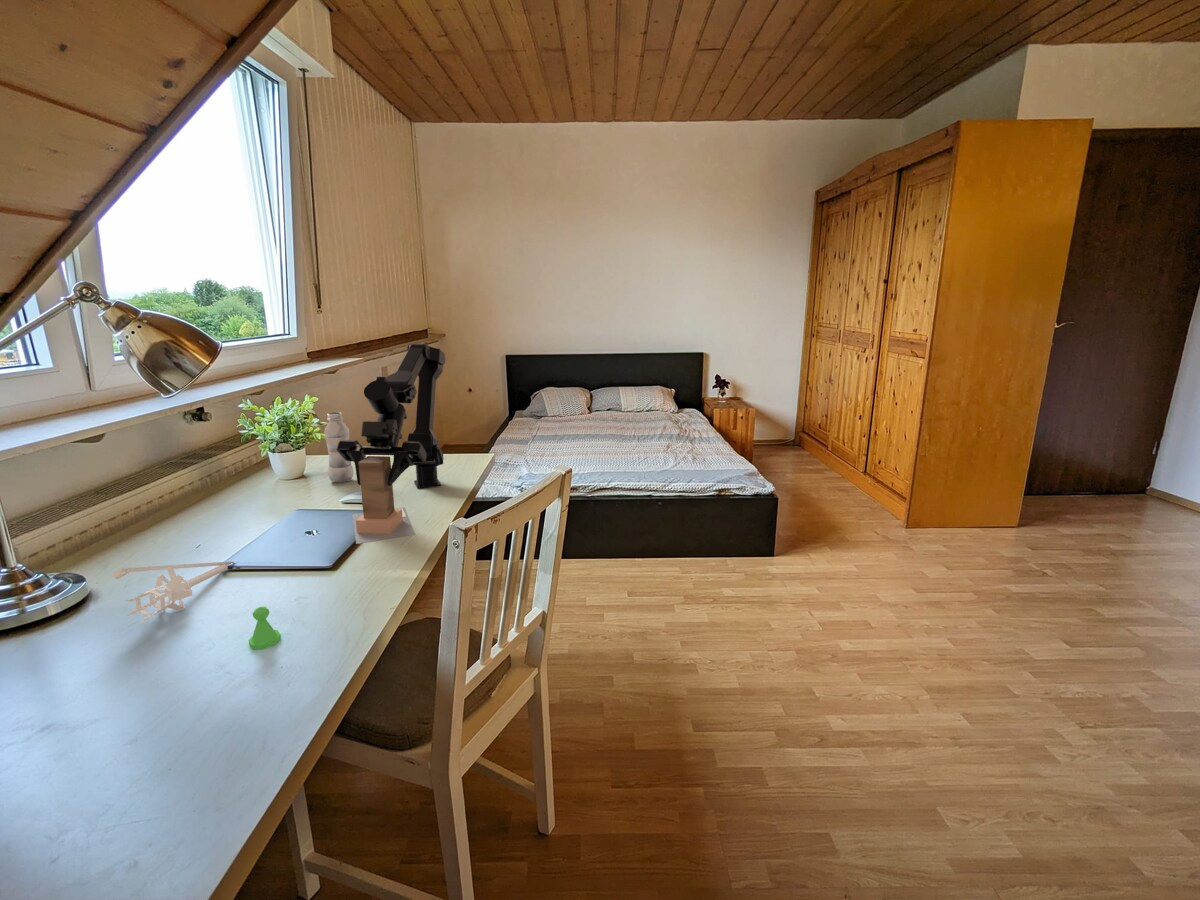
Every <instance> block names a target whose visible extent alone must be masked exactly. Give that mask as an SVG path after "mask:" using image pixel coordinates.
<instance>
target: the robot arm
mask: <svg viewBox="0 0 1200 900" xmlns="http://www.w3.org/2000/svg"><path fill="white" fill-rule="evenodd" d="M406 350H407V351H406V354H405V355H404V357H403V359H402V360H401V363H400V364H399V366H398V368H397V370H396V372H394V373H391V374H389V375H387V376H376V379H375V380H372V381H371V382H369V383H368V384H367V385H366V386H365V387H364V388H363V389H364V390H363V395H364V397H365V399H366V400H367V401H368V404H369V405H370V406H371V407H372V409H373V411H374V412H375V413H377V414H378V416H377V418H376V421H370V420H369V421H362V424H361V432H360V433H361V434H360V436H361V437H365V438H366V440H365V441H366V442H367V444H370V446H369V445H361V444H360V442H359V441H358V440H356V439H349V440H341V441H340V442H339V443H338V445H337V448H336V450H337V451H338V452H339V453H340V455H341V456H342V457H343V458H344V459H345V460H346V461H351V463H352V462H353V463H354V467H355V475H356V483H357V485H358V486H361V485H360V475H359V465H358V462H360V461H361V460H363V459H364V458H366V457H367V456H393V461H392V464H391V471H390V474H389V478H388V486H391V485H393V484H394V483H395V482H396V481H397V480H398V478H399V477H400V476H401V475H402V474H403V473H404V472H405V471H406V470H407V469H408V468H409V467H413V466H415V474H416V475H415V476H416V479H415V480H414V481H413V483H414V485H415V487H416V489H425V488H426V489H427V488H431V487H432V488H433V487H440V486H442V484H441V482H440V480H439V478H438V467H439V466H441V465H444V453H443V451H442V449H441V448H440V446H439V439H438V437H437V435H436V434H435V432H434V418H435V403H436V386H437V380H438V379H439V378H440V376H441V375H442V373H443V371H444V366H445V364H446V354H445V352H444V351H442V350H441V348H439V347H432V346H430V345H429V344H425V343H411V344H408V346H407V349H406ZM417 378H418V386H417V389H416V386H415V382H416V380H417ZM416 395H417V399H416V400H417V401H416V415H415V416H416V417H415V428H414V430H413V431H412V432H410V433H409V432H408V433H409V434H408V435H407V440H406V441H403V442H402V445H401V446H399V443H400V442H399V440H401V439H402V438H403V434H402V430H403V424H404V421H405V420H407V419H408V415H407V413H406V412H407V410H406V408H405V406H404V405H403V404H407V405H409V404H412V403H413V401H414V400H415V398H416Z"/></svg>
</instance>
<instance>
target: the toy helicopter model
mask: <svg viewBox="0 0 1200 900" xmlns="http://www.w3.org/2000/svg"><path fill="white" fill-rule="evenodd" d="M234 562H235V561H233V560H232V561H217V562H201V563H185V564H171V565H170V564H168V565H155V566H153V565H150V566H137V567H124V568H122V567H120V568H119V569H117V570H116V571H113V573H112V574H113V577H114V579H116V580H117V579H118V580H119V579H121V578H123V577H125V576H126V575H129V574H130V573H135V572H149V571H151V572H152V571H164V570H167V572H168V575H169V578H170V580H169V579H167V577H166V576H165V574H161V575H160V576H158V577H157V579H156V582H155V587H154V588H152V589H149V590H147V591H144V592H142V593H140V592H139V595H138V596H135V597H133V598H130V599H127V600H125V602H136V603H135V605H136V609H133V610H131V612H129V613H128V614H126V617H129V616H132V615H136V614H137V613H140V614H142V615H144V616H145V617H143V619H142V621H141V623H140V624H142V623H144V622H145V621H147V620H148V619H149V618H152V617H153V616H156V615H157V614H159V613H161V612H163V611H164V612H165V611H166V610H167V608H168V609H172V610H174V611H178V612H181V611H183V610H185V609H186V607H185V604H184V602H183V600H184V599H186V598H189V597H192V596H193V589H191V588H193V587H195V586H196V585H198V584H200V583H203V582H205V581H207V580H208V579H211V578H212V577H215V576H216V575H219V574H221V573H223V572H226V571H227V570H228V566H230V565H232V564H235V563H234ZM231 563H232V564H231ZM204 567H205V568H206V567H214V568H212V569H210V570H208V571H205V572H203V573H201V574H199V575H197V576H195V577H193V578H191V579H188V580H185V579H184V576H182V575H180V574H177V575H176V573H175V571H174V570H177V569H191V568H192V569H193V568H204ZM163 582H164V583H165V585H163ZM161 588H162V589H161ZM148 595H149V602H148V603H145V604H144V605H142V603H141V602H142V601H141V599H142V598H143V597H146V596H148ZM155 596H156V597H155ZM166 597H167V598H168V599H166ZM165 599H166V600H167V601H165ZM158 601H160V603H159V602H158ZM176 601H178V602H179V604H177V603H175V602H176ZM151 606H152V607H155V608H157V609H158V610H156V611H154V612H152V613H150V612H148V611H146V610H145V609H147V608H149V607H151Z"/></svg>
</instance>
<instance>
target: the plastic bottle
mask: <svg viewBox="0 0 1200 900" xmlns="http://www.w3.org/2000/svg"><path fill="white" fill-rule="evenodd" d="M343 420H344V418H343V413H342V412H339V411H333V412H328V413H327V421H328V423H327V425H326V426H325V428H324V432H323V435H324V439H325V443H326V446H327V453H328V470H327V475H328V479H329V480H330V481H331V482H333V483H346V482H350V481H351V480H352V479H353V478H354V468H353V465H352V462H351V461H346V460H345V459H344V458H343V457H342V456H341V455H340V453H339V452H338V451H337V450H336V448H337V445H338V443H339V442H340V441H341V440H350V429H349V427H348V426H347V425H346V423H345V422H343Z"/></svg>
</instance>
